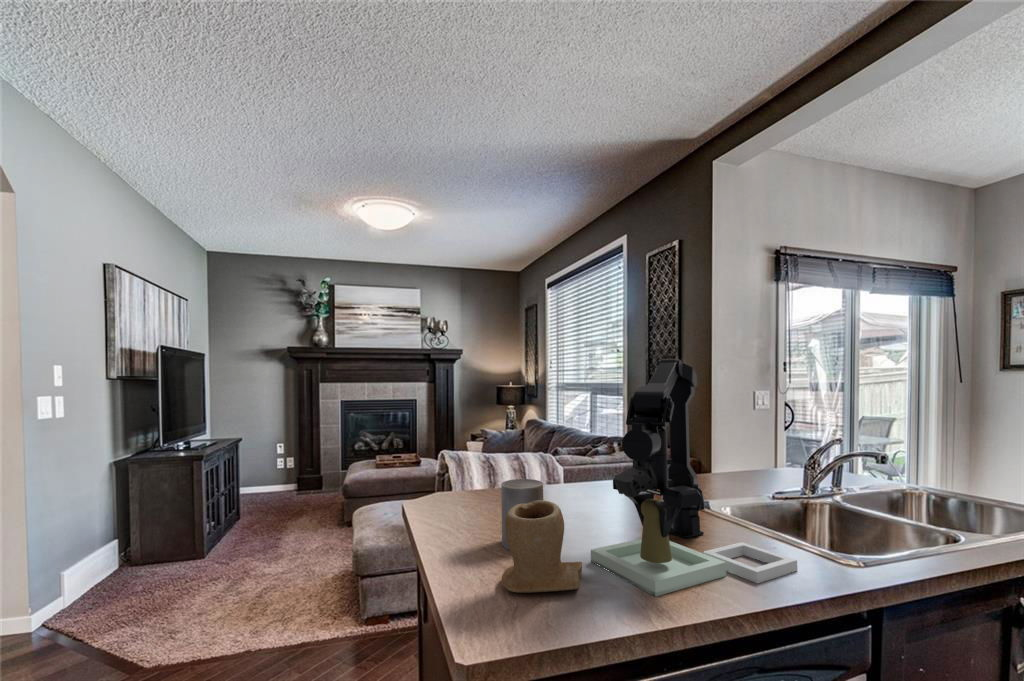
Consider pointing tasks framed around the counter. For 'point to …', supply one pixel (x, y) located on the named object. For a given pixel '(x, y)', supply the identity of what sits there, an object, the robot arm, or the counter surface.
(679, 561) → the tray
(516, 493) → the pillar candle
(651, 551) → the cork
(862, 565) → the counter surface
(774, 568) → the collar block
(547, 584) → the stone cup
